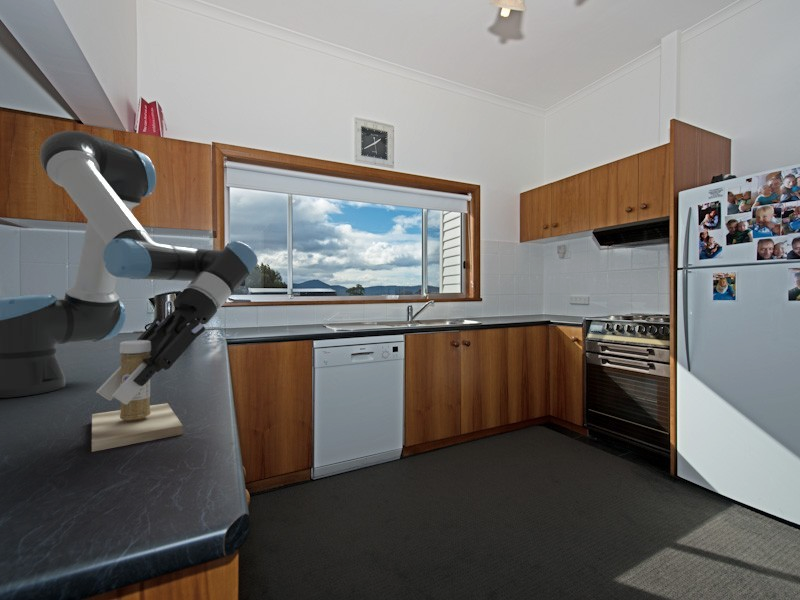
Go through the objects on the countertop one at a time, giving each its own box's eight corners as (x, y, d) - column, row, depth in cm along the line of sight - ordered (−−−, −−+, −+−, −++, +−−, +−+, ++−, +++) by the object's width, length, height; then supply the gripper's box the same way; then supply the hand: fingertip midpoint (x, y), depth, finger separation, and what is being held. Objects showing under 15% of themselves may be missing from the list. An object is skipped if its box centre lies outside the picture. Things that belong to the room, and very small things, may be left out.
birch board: (92, 422, 71) (92, 414, 71) (167, 410, 78) (167, 403, 78) (91, 451, 58) (91, 441, 58) (182, 434, 65) (182, 425, 65)
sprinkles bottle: (115, 422, 65) (115, 343, 65) (125, 414, 69) (125, 339, 69) (146, 419, 66) (146, 342, 66) (154, 411, 71) (154, 339, 71)
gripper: (241, 312, 77) (157, 417, 63) (188, 310, 85) (103, 402, 71) (218, 285, 72) (121, 392, 58) (164, 286, 81) (67, 379, 66)
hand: (111, 397), depth 65 cm, fingers closed on sprinkles bottle, 4 cm apart
